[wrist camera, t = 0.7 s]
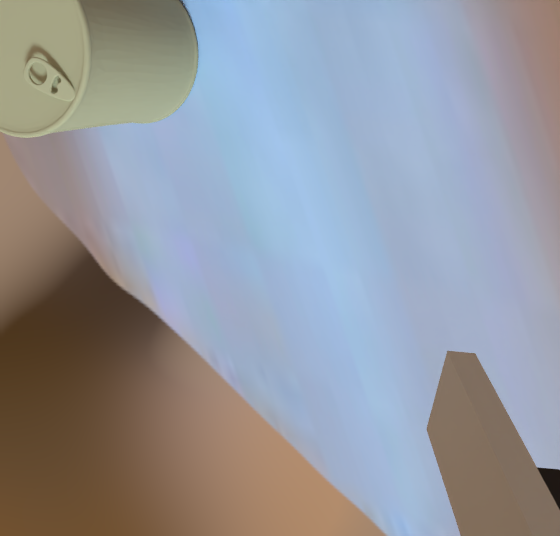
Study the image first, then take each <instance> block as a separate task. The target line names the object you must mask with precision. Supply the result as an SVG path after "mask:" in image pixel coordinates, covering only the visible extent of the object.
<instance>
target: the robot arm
mask: <svg viewBox="0 0 560 536" xmlns="http://www.w3.org/2000/svg"><path fill="white" fill-rule="evenodd" d="M427 432H428V435H429V438H430V441H431V444H432V448H433V451H434V454H435V457H436V460H437V463H438V466H439V469H440V472H441V475H442V479H443V482H444V485H445V488H446V491H447V494H448V497H449V500H450V503H451V506H452V510H453V513H454V516H455V519H456V522H457V525H458V528H459V531H460V534H461V536H560V470H558V469H547V468H537V467H536V465H535V463H534V461H533V460H532V458H531V456H530V454H529V452H528V450H527V449H526V447H525V445H524V443H523V441H522V439H521V437H520V436H519V434H518V432H517V430H516V428H515V426H514V424H513V423H512V421H511V419H510V417H509V415H508V413H507V412H506V410H505V408H504V406H503V404H502V402H501V400H500V399H499V397H498V395H497V393H496V391H495V389H494V387H493V386H492V384H491V382H490V380H489V378H488V376H487V375H486V373H485V371H484V369H483V367H482V365H481V363H480V362H479V360H478V358H477V356H476V354H475V353H465V352H454V351H447V354H446V358H445V362H444V366H443V369H442V373H441V377H440V381H439V384H438V388H437V392H436V396H435V399H434V403H433V407H432V411H431V414H430V418H429V422H428V425H427Z"/></svg>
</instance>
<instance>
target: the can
mask: <svg viewBox="0 0 560 536" xmlns="http://www.w3.org/2000/svg"><path fill="white" fill-rule="evenodd" d="M197 68H198V45H197V39H196V34H195V30H194V27H193V24H192V22H191V19H190V17H189V15H188V13H187V11H186V10H185V8H184V7H183V5H182V4H181V3H180V1H179V0H0V132H2V133H5V134H8V135H11V136H16V137H23V138H31V137H38V136H43V135H46V134H49V133H55V132H62V131H69V130H76V129H84V128H91V127H98V126H106V125H115V124H123V123H152V122H156V121H160V120H162V119H164V118H166V117H168V116H169V115H171V114H172V113H174V112H175V111H176V110H177V109H178V108H179V107H180V106H181V105H182V104H183V103H184V101H185V100H186V98H187V97H188V95H189V93H190V91H191V89H192V87H193V84H194V81H195V77H196V73H197Z"/></svg>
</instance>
